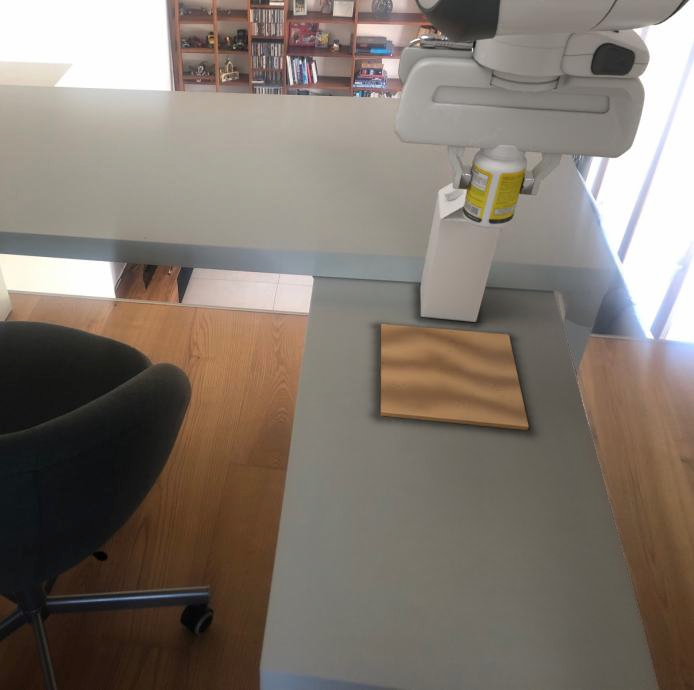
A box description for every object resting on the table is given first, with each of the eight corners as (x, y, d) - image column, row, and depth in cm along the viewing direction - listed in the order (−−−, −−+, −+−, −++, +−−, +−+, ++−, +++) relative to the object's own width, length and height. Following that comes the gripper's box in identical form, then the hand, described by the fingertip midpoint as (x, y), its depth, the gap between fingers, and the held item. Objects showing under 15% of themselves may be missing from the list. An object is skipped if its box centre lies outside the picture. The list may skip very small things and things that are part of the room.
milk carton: (472, 291, 96) (504, 164, 84) (476, 323, 91) (510, 193, 78) (420, 286, 97) (443, 160, 85) (420, 318, 92) (446, 188, 79)
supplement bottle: (515, 211, 69) (537, 130, 64) (508, 234, 66) (531, 151, 60) (466, 201, 71) (484, 122, 65) (456, 224, 67) (474, 142, 62)
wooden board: (527, 430, 76) (528, 426, 76) (380, 415, 79) (381, 411, 78) (507, 337, 88) (509, 334, 88) (380, 327, 91) (381, 323, 90)
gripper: (401, 44, 57) (381, 195, 66) (673, 57, 53) (612, 215, 62) (404, 21, 61) (385, 165, 70) (654, 32, 58) (600, 182, 67)
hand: (493, 189), depth 66 cm, fingers closed on supplement bottle, 5 cm apart
